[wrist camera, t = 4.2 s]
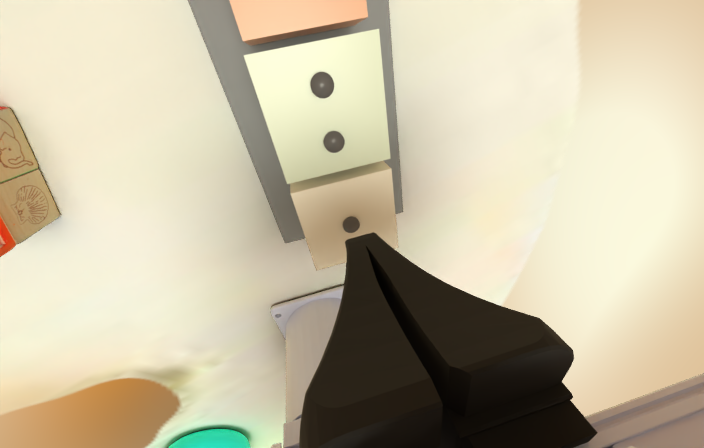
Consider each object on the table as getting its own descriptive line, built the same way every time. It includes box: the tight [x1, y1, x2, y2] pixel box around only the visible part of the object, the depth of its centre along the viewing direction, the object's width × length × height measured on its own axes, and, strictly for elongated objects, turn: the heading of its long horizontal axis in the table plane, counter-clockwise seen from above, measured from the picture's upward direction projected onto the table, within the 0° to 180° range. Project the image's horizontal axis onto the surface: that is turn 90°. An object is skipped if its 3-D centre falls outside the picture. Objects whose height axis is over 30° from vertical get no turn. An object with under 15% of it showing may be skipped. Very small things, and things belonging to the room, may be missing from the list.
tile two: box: [244, 29, 391, 184], centre depth 12 cm, size 5×5×3 cm
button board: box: [188, 0, 403, 243], centre depth 14 cm, size 17×9×3 cm, turn 10°
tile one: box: [290, 161, 398, 270], centre depth 15 cm, size 5×5×3 cm
